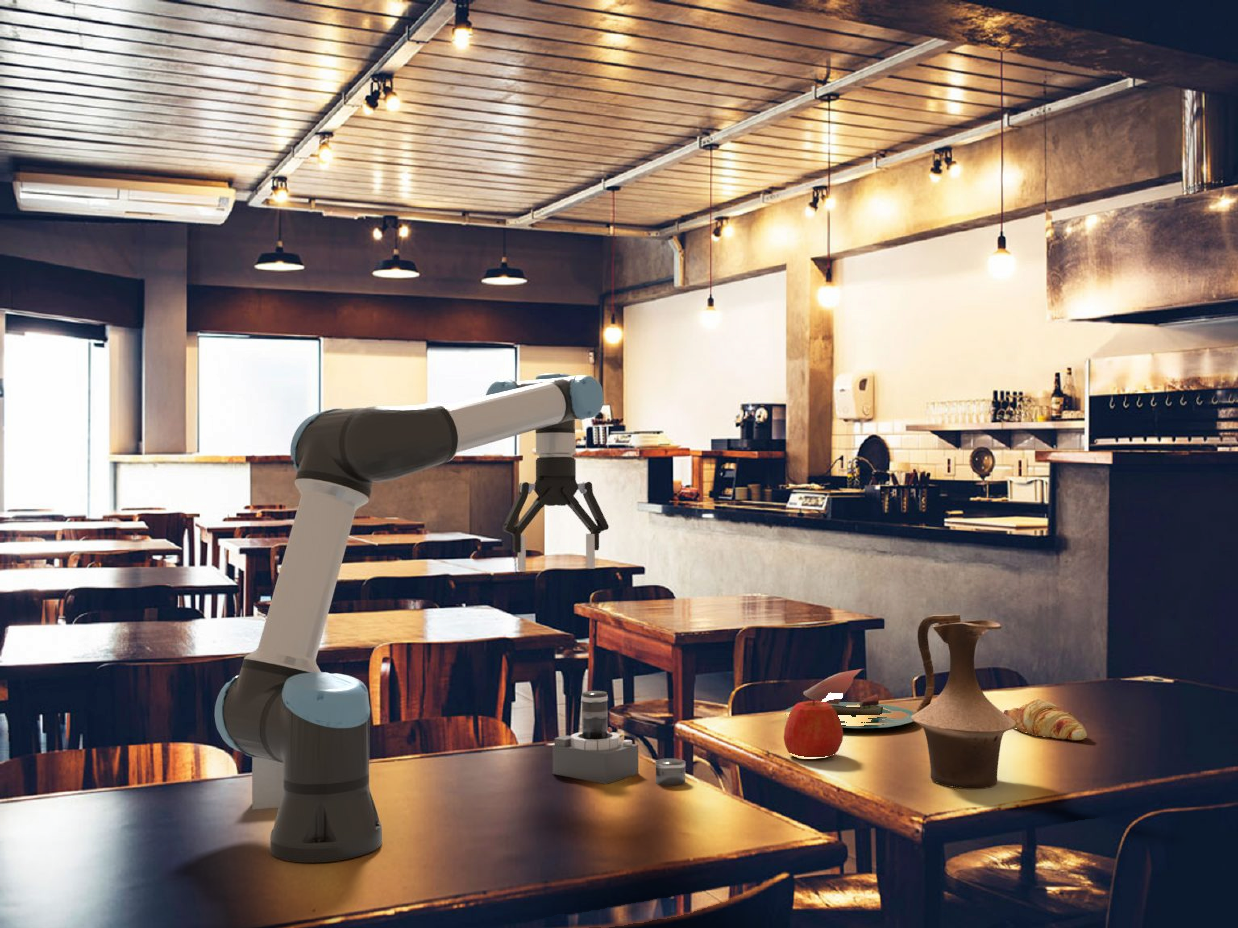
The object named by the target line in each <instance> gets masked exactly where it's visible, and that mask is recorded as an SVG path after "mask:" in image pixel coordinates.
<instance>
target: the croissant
mask: <svg viewBox="0 0 1238 928" xmlns="http://www.w3.org/2000/svg"><path fill="white" fill-rule="evenodd" d="M1003 713H1004V714H1006V715H1007V716H1008V717H1010V718H1011V719H1013V720H1014V721H1015V722H1016V727H1015V728H1017V729H1018V730H1020V731H1022V732H1027V733H1030V734H1033V735H1037V736H1045V737H1044V738H1046V737H1052V738H1051V739H1054V738H1055V739H1056V740H1057V739H1058V740H1066V739H1067V740H1069V741H1081V740H1084V739H1086V738H1087V736H1088V733H1087V730H1086V728H1085V727H1084V726H1083V724H1082V723H1081V722H1080V721H1078V720H1077V719H1076V717H1074V715H1073V713H1071V712H1069V711H1065V710H1062V709H1061V708H1060V707H1059V706H1058V705H1056V704H1054V703H1052V702H1050V701H1047V700H1041V699H1039V698H1037V699H1035V700H1033V701H1030V702H1029V703H1028V704H1027V703H1026V704H1024V705H1021V706H1019V707H1013V708H1011V709H1005V710H1003ZM1018 730H1017V731H1018ZM1020 731H1019V732H1020ZM1022 732H1021V733H1022ZM1030 734H1029V735H1030ZM1033 735H1032V736H1033ZM1037 736H1036V737H1037Z"/></svg>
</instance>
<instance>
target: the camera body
mask: <svg viewBox="0 0 1238 928" xmlns="http://www.w3.org/2000/svg"><path fill="white" fill-rule="evenodd" d="M607 735H608V738H606V739H597V740H596V739H583V738H582V731H579V732H575V733H573V734H571V735H562V736H557V737H554V744H552V775H556V776H563V777H568V778H572V779H577V780H582V781H588V782H593V783H599V784H603V785H607V784H611V783H614V782H617V781H619V780H622V779H626V778H629V777H633V776H635V775H639V774H640V773H639V744H635V743H633V740H631V739H624V740H622V741H621V734H619V733H617V732H613V728H612V727H607Z"/></svg>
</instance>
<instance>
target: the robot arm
mask: <svg viewBox="0 0 1238 928" xmlns="http://www.w3.org/2000/svg"><path fill="white" fill-rule="evenodd" d="M603 391H604V390H603V387H602V385H601V383H600V382H599V380H598V379H597V378H595V377H594V376H592V375H579V374H576V375H573V376H572V375H570V374H566V373H541V374H538V375H537V376H536V377H535V379H531V380H519V381H517V380H512V379H507V380H496V381H495V382H493V383H491V384H490V386H489V387H488V389H487V390H486V394H485V396H482V397H478V398H473V399H468V400H465V401H460V402H457V403H452V404H448V405H443V404H441V403H439V402H428V403H423V404H418V405H417V404H416V405H400V406H399V405H394V406H393V405H391V406H389V405H388V406H387V405H378V406H377V405H376V406H375V405H374V406H368V407H367V406H366V407H355V408H352V407H351V408H331V409H327V410H324V411H320V412H317V413H314V414H312V415H310V416H309V417H307V418H305V419H304V420H303V421H302V422H301V423H300V425H299V426H298V427H297V428H296V430H295V432H294V434H293V437H292V439H291V443H290V450H289V451H290V460H291V461H292V462H293V466H292V467H293V468H294V470H295V472H296V475H295V479H294V485H295V487H296V489H297V491H298V492H299V495H300V498H299V502H298V506H297V510H296V513H295V517H294V520H293V522H292V523H293V524H292V527H291V531H290V534H289V538H288V541H287V545H286V549H285V551H284V555H283V558H282V563H281V566H280V568H279V572H278V576H277V579H276V584H275V586H274V587H275V588H274V590H273V593H272V594H273V595H272V597H271V601H270V605H269V608H268V612H267V614H266V618H265V622H264V625H263V629H262V632H261V635H260V640H259V642H258V646H257V648H256V649H255V650H254V651H252V652H250V653H249V654H247V655H245V656H244V658H243V660H242V664H241V668H240V671H239V674H238V675H236V676H234V677H232V679H231V680H229V681H228V682H226V683H225V684H224V685H223V687H222V688H221V689H220V692H219V693H218V695H217V699H216V701H215V705H214V719H215V721H214V722H215V726H216V729H217V731H218V733H219V735H220V736H221V738H222V741H224V742H225V744H227V745H228V746H229V747H230V748H231V749H233V750H235V751H237V752H239V753H240V752H241V753H242V754H244V755H245V756H247V757H251V758H252V757H257V758H265V759H269V760H273V761H277V762H282V763H283V778H284V789H283V797H282V800H281V803H280V807H278V810H277V814H276V818H275V820H274V824H273V829H272V830H271V832H270V837H269V841H270V842H269V843H270V844H269V847H270V848H269V849H270V850H269V851H270V854H271V855H272V856H273V857H275V858H276V859H279V860H284V861H288V862H295V863H327V862H329V863H330V862H337V861H338V862H339V861H344V860H350V859H354V858H358V857H361V856H364V855H367V854H369V853H371V852H374V851H376V850H377V849H379V848H380V846H382V844H383V828H382V822H381V821H380V818H379V815H378V810H377V807H376V805H375V801H374V799H373V796H372V793H371V790H370V727H371V726H370V719H371V717H370V716H371V707H370V701H369V700H370V699H369V691H368V688H367V686H366V685H365V683H364V681H361V680H360V679H358V678H356V677H354V676H351V675H348V674H342V673H329V672H326V671H325V672H323V671H321V670H320V667H319V665H318V664H317V656H318V653H319V648H320V644H321V641H322V638H323V634H324V629H325V627H326V623H327V619H328V616H329V612H330V608H331V604H332V600H333V598H334V594H335V589H336V585H337V582H338V579H339V578H338V577H339V575H340V570H341V567H342V562H343V559H344V555H345V552H346V549H347V544H348V541H349V538H350V537H349V536H350V534H351V530H352V526H353V523H354V522H353V521H354V518H355V515H356V512H357V510H358V509H359V508H362V507H363V506H364V505H367V504H368V503H369V501H370V498H371V493H372V491H373V490H372V489H373V486H374V483H383V482H390V481H391V482H392V481H394V480H395V481H396V480H398V479H401V478H405V477H407V476H410V475H413V474H416V473H418V472H421V471H425V470H427V469H430V468H434V467H437V466H439V465H443V464H446V463H448V462H450V461H451V460H453V459H454V458H455V456H456V455H457V453H461V452H463V451H467V450H468V451H469V450H470V449H474V448H478V447H481V446H484V445H487V444H492V443H494V442H498V441H501V440H505V439H508V438H511V437H512V438H513V437H515V436H518V435H523V434H525V433H530V432H532V431H535V454H536V455H538V457H537V458H536V459H535V482H534V483H529V482H527V481H524V482H523V481H521V482H520V483H519V484H518V485H519V486H518V493H517V496H516V498H515V500H514V502H513V504H512V507H511V509H510V511H509V513H508V515H507V517H506V519H505V520H504V524H503V525H502V531H503V532H505V533H508V534H510V535H512V536H511V538H512V551H513V553H517V571H521V572H525V571H527V567H526V563H527V558H526V555H527V554H526V550H527V549H526V547H527V546H526V535H524V534H523V535H522V533H523V532H524V531H525V530H526V528H527V527H528V526H529V525H530V524H531V522H532V521H533V520H534V518H535V517H536V516H537V515H538V514H539V512H540V510H542V508H544V507H545V506H546V507H554V506H561V507H563V506H567V507H569V508H570V509H571V511H572V512H573V513H574V514H575V515H576V517H577V518H578V519H579V520H580V521H581V523H582V524H583V525H584V526H585V528H586V529H587V530H588V532H589V533H585V562H586V563H585V568H586V569H594V570H595V569H596V563H595V562H596V559H595V557H596V554H595V551H599V549H600V534H601V533H602V532H604V531H607V530H609V527H610V526H609V524H608V522H607V519H606V518H605V515H604V514H603V511H602V508H601V507H600V505H599V503H598V501H597V498H596V496H595V493H594V492H593V491H594V489H593V484H592V482H591V481H583V482H580V483H578V482H577V480H576V478H577V477H576V476H577V473H576V472H577V469H576V467H577V466H576V464H577V463H576V458H575V457H573V455H575V454H576V453H577V451H576V449H577V448H576V447H577V445H576V420H580V421H583V420H586V419H592V418H595V417H597V415H599V414H600V412H601V410H602V409H603V407H604V400H605V397H604V392H603ZM532 491H534V493H535V494H536V495H537V497H536V498H535V500H534V501H532V504H531V505H530V507H529V508H528V509H527V511H526V512H525V513H524V515H523V516H522V517H521V519H520V520H519V521H518V522H517V520H518V518H519V517H520V514H521V512H522V510H523V508H524V505H525V503H526V501H527V498H528V496H529V495H530V494H532ZM577 491H579V492H580V494H582V496H583V498H584V500H585V502H586V505H587V506H588V509H589V510H590V512H591V515H592V517H593V519H594V520H593V519H592V517H591V516H590V515H589V514H588V513H587V511H586V510H585V509H584V508H583V506H582V505H581V504H580V501H578V499H577V498H576V496H575V495H576V493H577ZM516 522H517V524H516Z"/></svg>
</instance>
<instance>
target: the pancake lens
mask: <svg viewBox="0 0 1238 928" xmlns="http://www.w3.org/2000/svg"><path fill="white" fill-rule="evenodd" d="M654 764H655V783H656V785H659V786H662V787H678V786H684V785H685V784H686V761H685V760H683V759H679V758H661V759H657V760H655V761H654Z"/></svg>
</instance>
